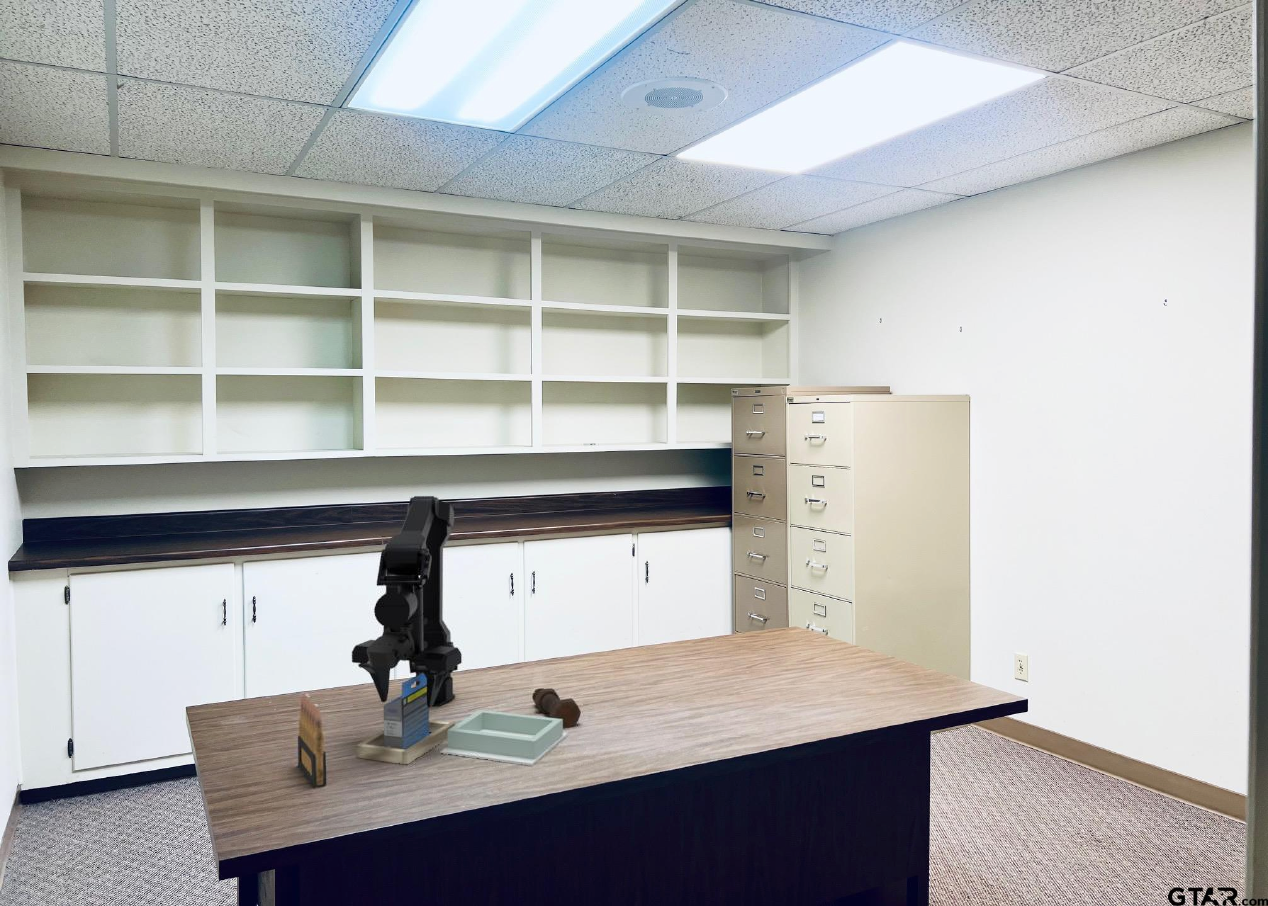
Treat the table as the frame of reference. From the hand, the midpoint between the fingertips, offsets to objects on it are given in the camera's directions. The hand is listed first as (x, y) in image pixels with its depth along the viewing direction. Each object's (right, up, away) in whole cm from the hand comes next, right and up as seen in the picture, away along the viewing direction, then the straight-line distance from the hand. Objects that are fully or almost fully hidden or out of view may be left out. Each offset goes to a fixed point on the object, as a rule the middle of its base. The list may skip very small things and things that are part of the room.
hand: (406, 704), depth 152 cm
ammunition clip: (-12, -8, -13) cm, 19 cm away
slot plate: (+17, -7, +1) cm, 19 cm away
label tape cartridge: (0, -7, 0) cm, 7 cm away
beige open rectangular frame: (0, -7, 0) cm, 7 cm away
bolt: (+24, -7, +16) cm, 29 cm away
